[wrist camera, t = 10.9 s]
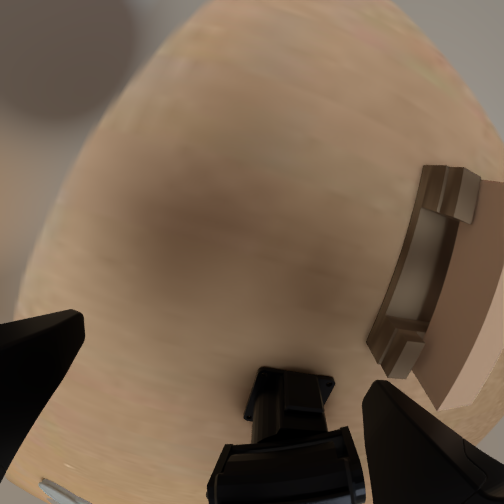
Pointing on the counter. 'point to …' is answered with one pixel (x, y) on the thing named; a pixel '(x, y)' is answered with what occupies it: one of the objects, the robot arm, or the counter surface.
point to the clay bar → (468, 309)
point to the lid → (60, 493)
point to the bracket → (422, 266)
